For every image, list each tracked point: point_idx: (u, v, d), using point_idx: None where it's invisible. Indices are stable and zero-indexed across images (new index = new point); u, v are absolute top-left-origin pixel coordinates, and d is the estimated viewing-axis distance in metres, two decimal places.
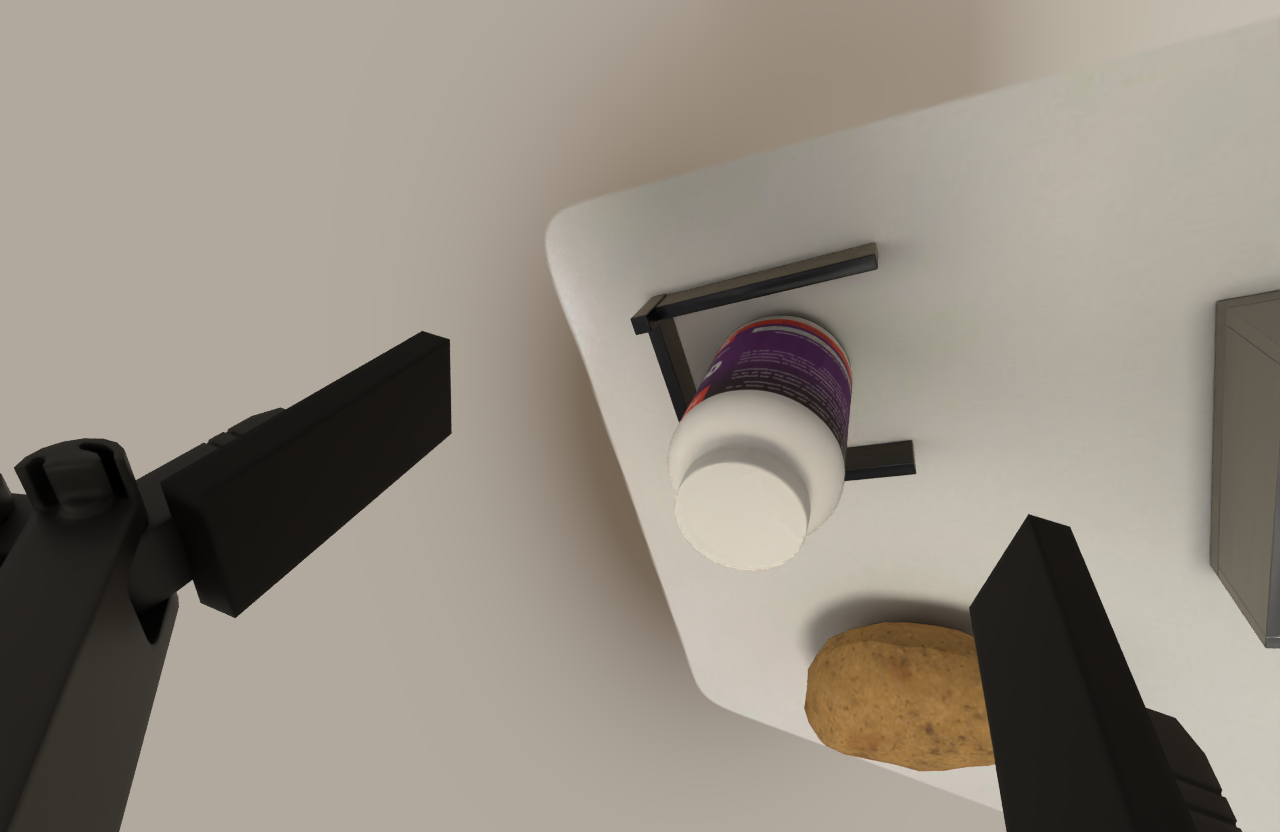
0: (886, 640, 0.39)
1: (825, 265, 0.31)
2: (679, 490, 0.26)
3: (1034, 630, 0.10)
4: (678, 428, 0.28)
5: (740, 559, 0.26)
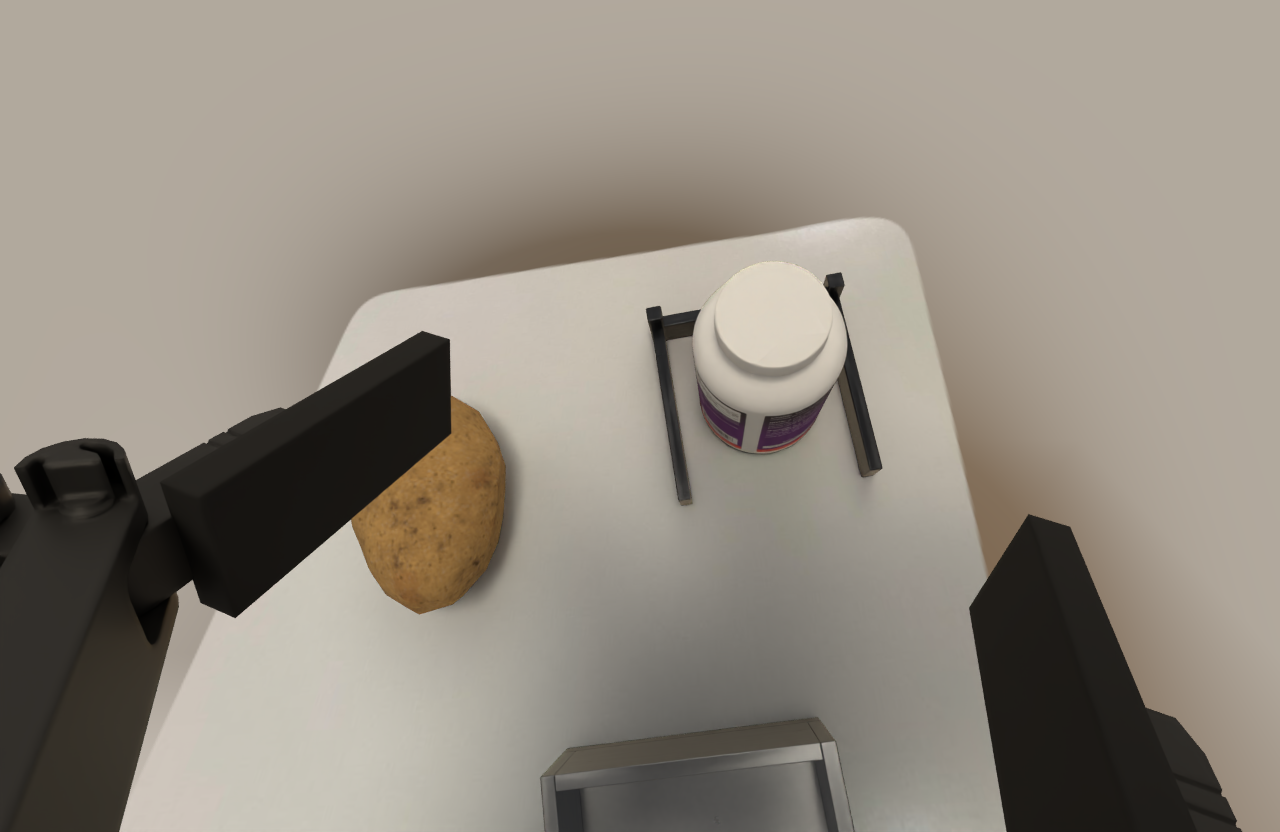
0: (500, 470, 0.39)
1: (873, 432, 0.39)
2: (799, 267, 0.29)
3: (1034, 629, 0.10)
4: None
5: (727, 311, 0.29)
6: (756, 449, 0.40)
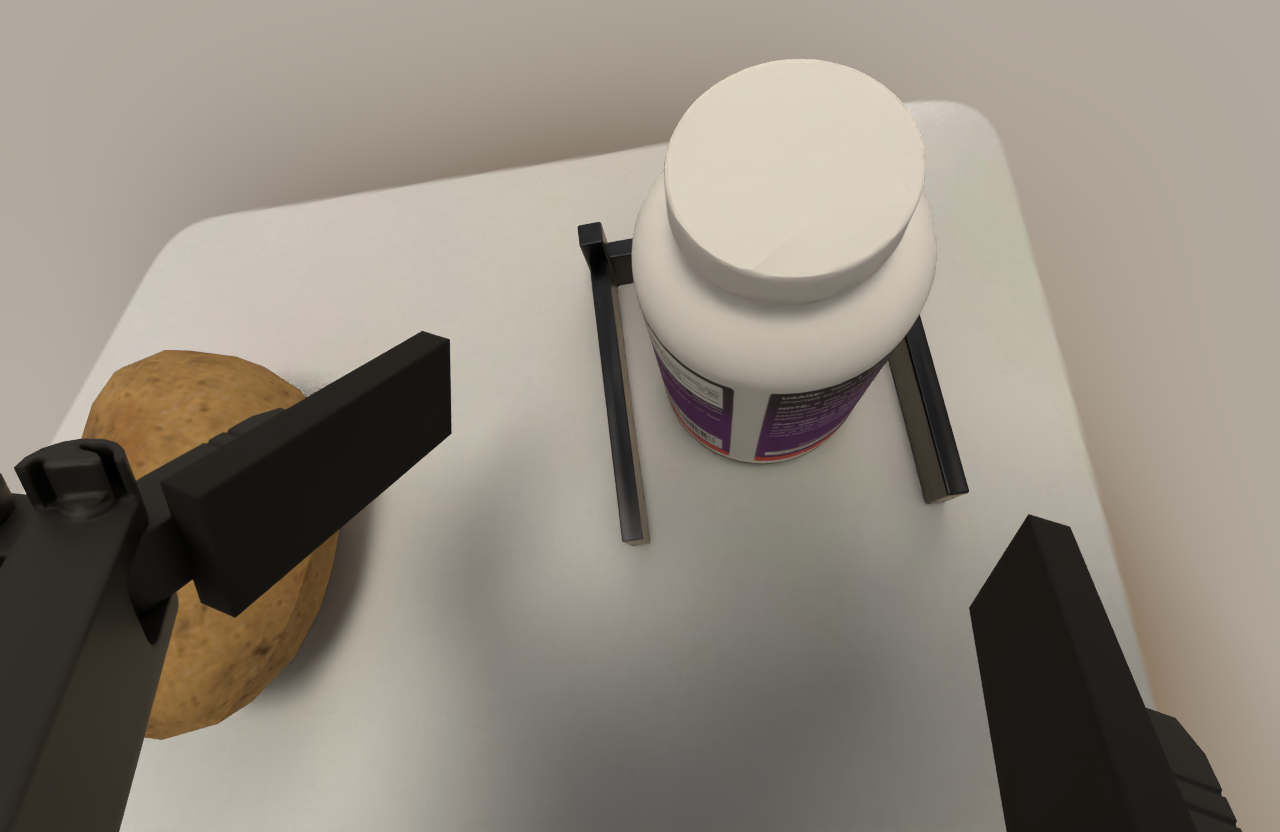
0: None
1: (951, 430, 0.23)
2: (848, 68, 0.14)
3: (1034, 630, 0.10)
4: None
5: (692, 162, 0.14)
6: (754, 456, 0.24)
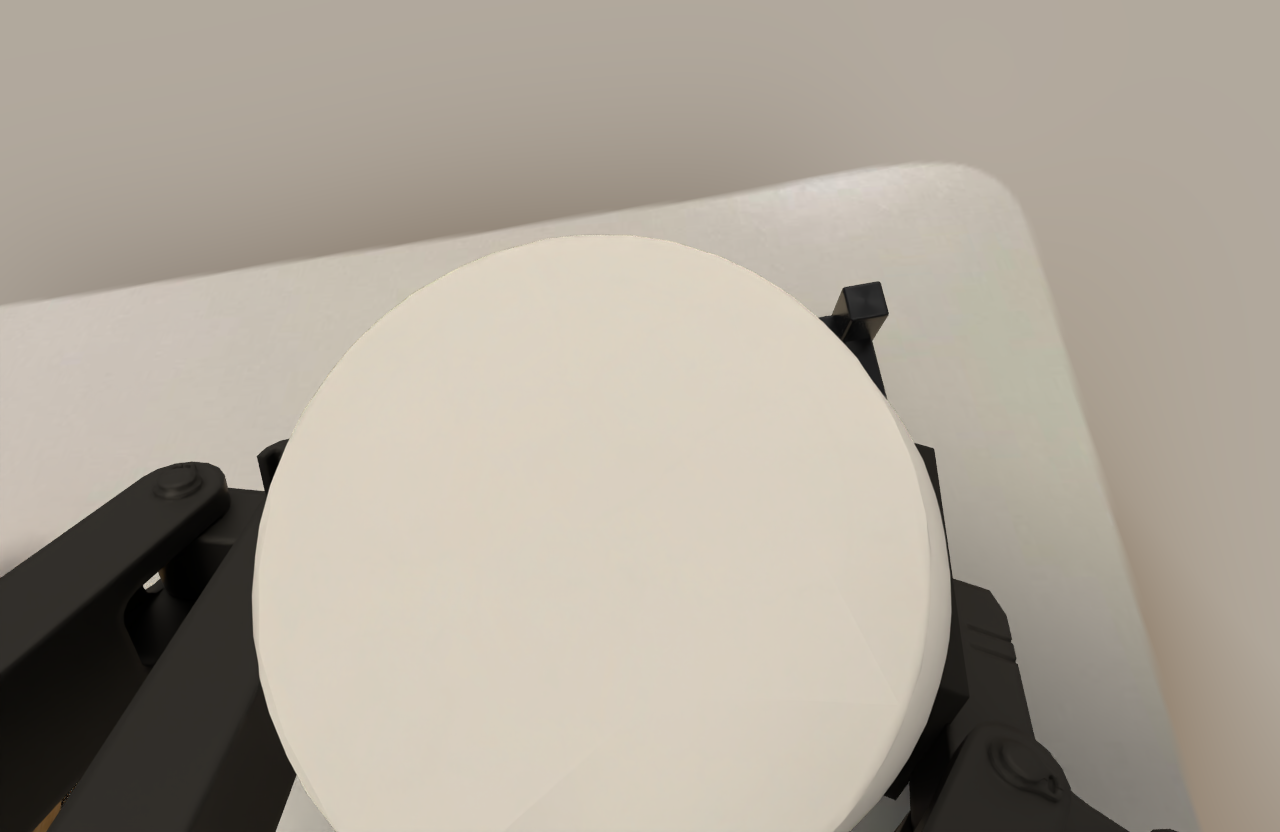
0: None
1: None
2: (733, 266, 0.05)
3: None
4: None
5: (325, 515, 0.05)
6: None
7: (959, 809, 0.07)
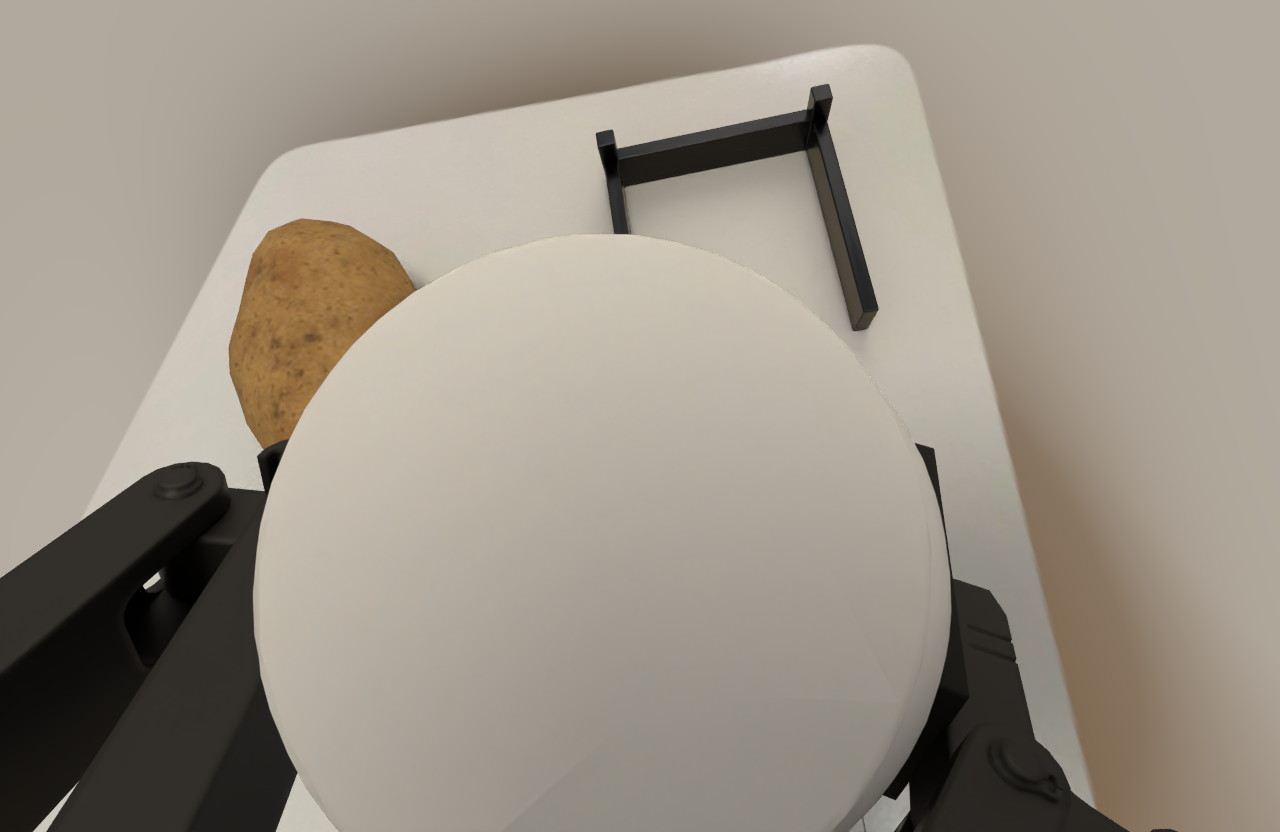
0: None
1: (867, 269, 0.32)
2: (734, 265, 0.05)
3: None
4: None
5: (326, 514, 0.05)
6: None
7: (959, 809, 0.07)
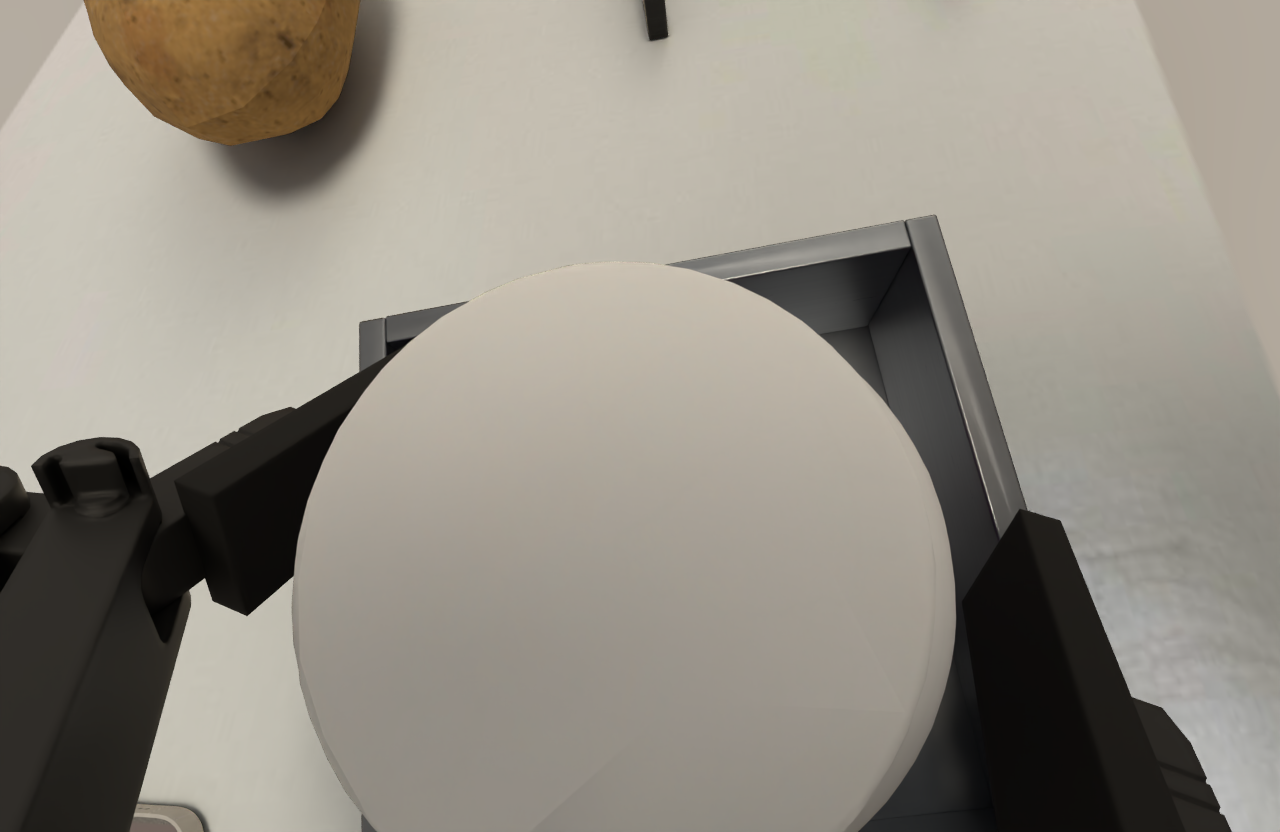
0: None
1: None
2: (746, 293, 0.06)
3: (1023, 622, 0.11)
4: None
5: (360, 530, 0.05)
6: None
7: None
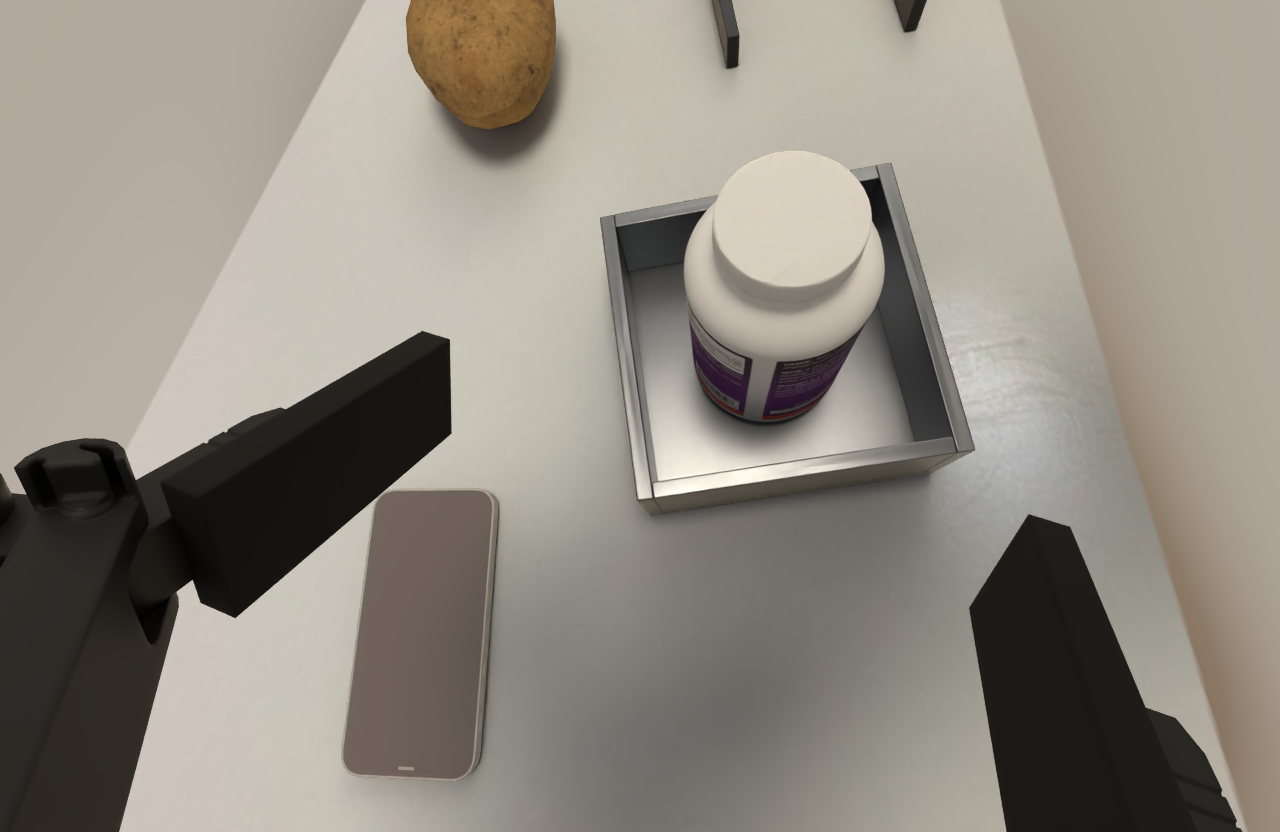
0: (552, 7, 0.40)
1: None
2: (826, 157, 0.22)
3: (1034, 629, 0.10)
4: None
5: (730, 215, 0.22)
6: (762, 415, 0.32)
7: None
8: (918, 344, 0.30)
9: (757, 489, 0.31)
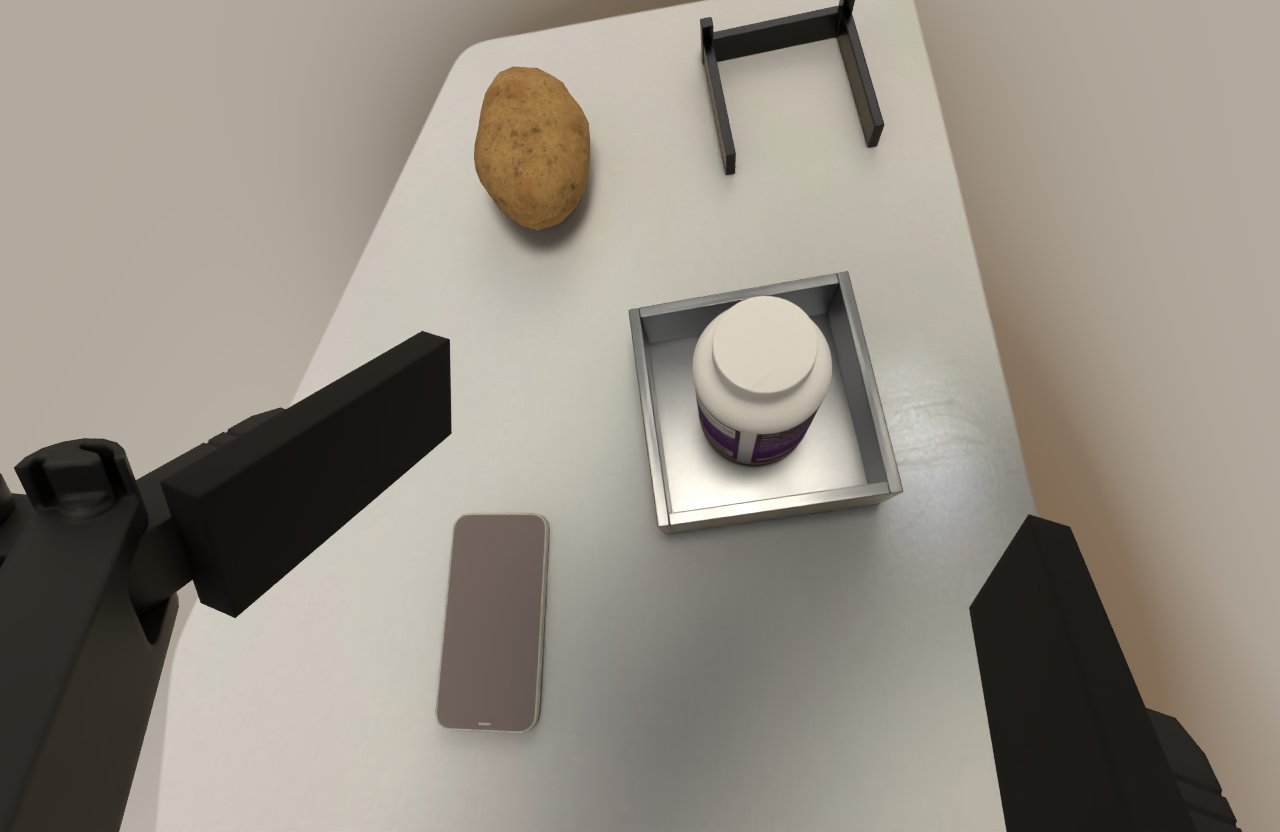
0: (588, 132, 0.51)
1: (877, 102, 0.50)
2: (788, 301, 0.33)
3: (1034, 630, 0.10)
4: None
5: (723, 341, 0.33)
6: (750, 461, 0.43)
7: None
8: (866, 410, 0.41)
9: (746, 517, 0.41)
